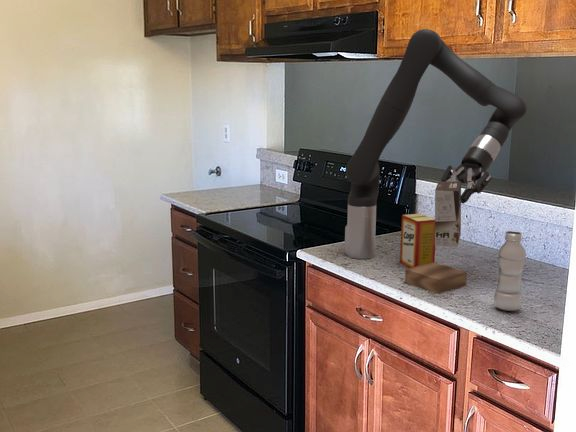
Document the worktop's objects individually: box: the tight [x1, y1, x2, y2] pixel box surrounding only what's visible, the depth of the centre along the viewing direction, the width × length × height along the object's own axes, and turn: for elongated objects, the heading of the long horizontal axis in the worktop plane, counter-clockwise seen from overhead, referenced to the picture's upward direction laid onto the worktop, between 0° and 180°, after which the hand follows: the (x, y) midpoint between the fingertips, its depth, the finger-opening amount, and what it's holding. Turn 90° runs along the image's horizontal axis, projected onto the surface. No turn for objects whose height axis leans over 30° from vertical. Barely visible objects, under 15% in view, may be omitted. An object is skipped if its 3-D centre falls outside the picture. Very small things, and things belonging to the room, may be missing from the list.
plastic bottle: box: [493, 230, 527, 312], centre depth 154 cm, size 6×7×20 cm
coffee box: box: [434, 180, 462, 248], centre depth 170 cm, size 9×6×16 cm
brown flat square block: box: [404, 261, 468, 295], centre depth 176 cm, size 12×12×4 cm
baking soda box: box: [399, 213, 436, 269], centre depth 191 cm, size 10×6×16 cm
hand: (451, 199), depth 171 cm, fingers closed on coffee box, 6 cm apart
